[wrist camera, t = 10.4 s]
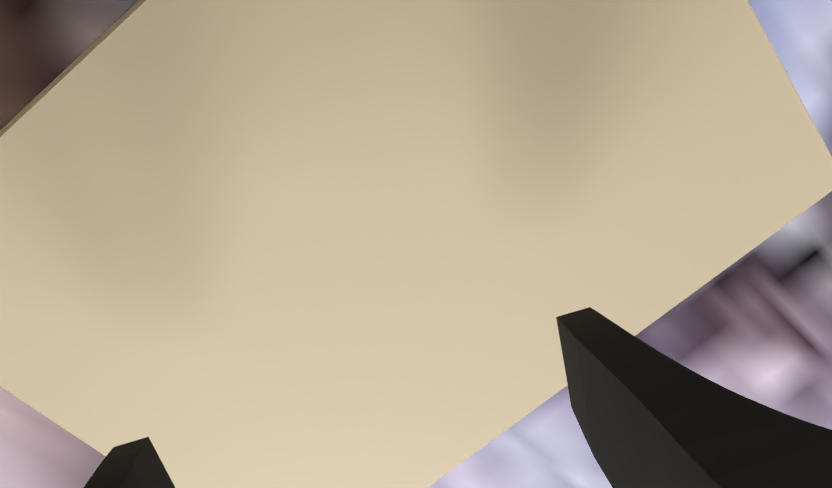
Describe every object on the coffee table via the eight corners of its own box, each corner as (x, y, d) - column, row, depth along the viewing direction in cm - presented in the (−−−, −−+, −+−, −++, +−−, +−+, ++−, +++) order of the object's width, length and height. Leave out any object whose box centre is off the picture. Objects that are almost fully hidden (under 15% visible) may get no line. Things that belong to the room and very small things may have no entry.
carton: (458, -302, 17) (546, -375, 11) (706, 104, 22) (844, 180, 17) (-39, 166, 19) (-155, 283, 14) (290, 428, 25) (296, 584, 19)
